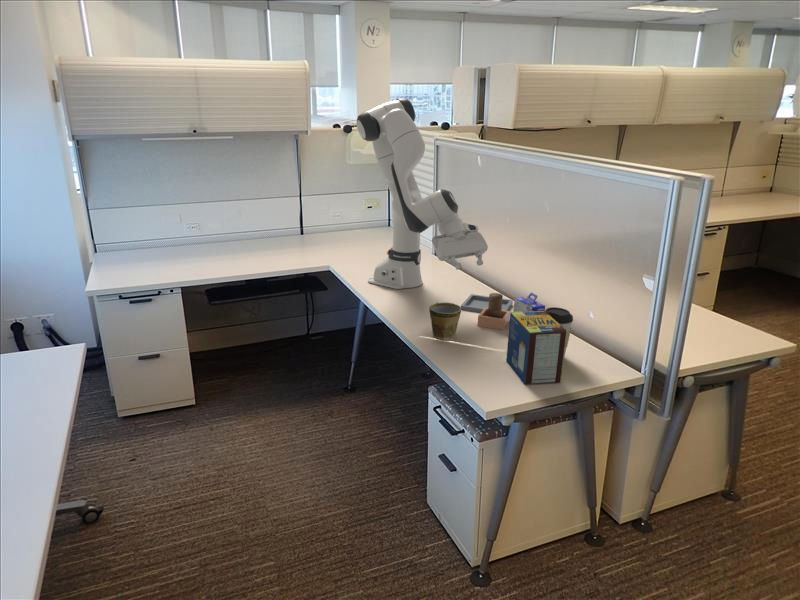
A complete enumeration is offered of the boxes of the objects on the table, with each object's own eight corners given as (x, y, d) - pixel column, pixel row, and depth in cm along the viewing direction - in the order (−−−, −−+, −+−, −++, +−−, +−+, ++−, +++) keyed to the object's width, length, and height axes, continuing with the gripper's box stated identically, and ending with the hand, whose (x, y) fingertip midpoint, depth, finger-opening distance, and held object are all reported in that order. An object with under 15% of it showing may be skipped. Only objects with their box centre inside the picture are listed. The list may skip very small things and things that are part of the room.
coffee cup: (545, 348, 176) (550, 302, 171) (572, 356, 171) (579, 309, 166) (531, 357, 169) (536, 310, 164) (560, 366, 164) (566, 318, 159)
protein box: (538, 358, 169) (544, 309, 164) (560, 383, 155) (567, 330, 149) (505, 360, 167) (509, 311, 162) (524, 385, 153) (529, 332, 148)
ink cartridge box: (542, 341, 181) (547, 298, 176) (527, 344, 179) (532, 300, 174) (524, 330, 189) (528, 288, 184) (510, 332, 187) (513, 290, 182)
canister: (485, 324, 192) (487, 296, 189) (488, 319, 196) (491, 292, 192) (498, 326, 190) (501, 298, 187) (501, 321, 194) (503, 294, 191)
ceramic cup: (464, 341, 180) (466, 311, 176) (434, 344, 177) (435, 314, 173) (449, 326, 191) (450, 298, 188) (421, 329, 189) (422, 300, 185)
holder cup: (477, 327, 191) (478, 316, 190) (483, 318, 199) (484, 307, 197) (503, 331, 188) (504, 320, 186) (509, 322, 196) (510, 311, 194)
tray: (460, 310, 205) (460, 305, 204) (470, 299, 217) (471, 294, 217) (504, 317, 200) (504, 312, 199) (512, 305, 212) (512, 300, 211)
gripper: (433, 231, 193) (450, 266, 189) (480, 225, 203) (497, 258, 199) (426, 241, 198) (441, 275, 194) (472, 235, 208) (488, 267, 204)
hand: (470, 266), depth 196 cm, fingers open, 8 cm apart
